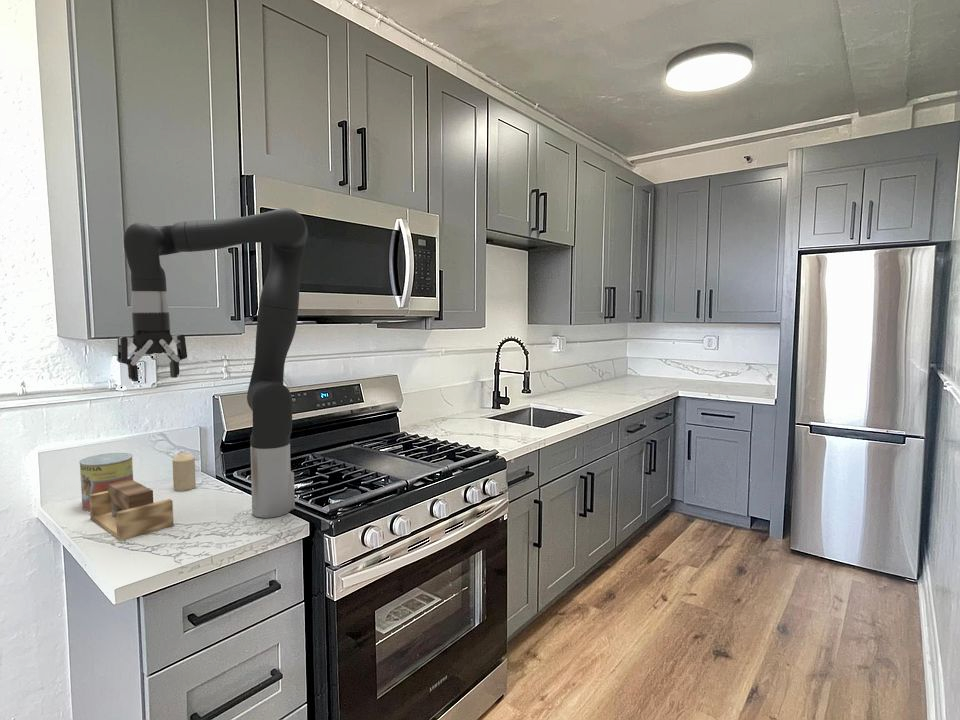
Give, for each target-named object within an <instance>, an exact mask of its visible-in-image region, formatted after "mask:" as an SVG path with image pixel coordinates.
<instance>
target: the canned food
mask: <svg viewBox="0 0 960 720" xmlns="http://www.w3.org/2000/svg"><path fill="white" fill-rule="evenodd" d="M78 463H79V468H80V470H79V471H80V489H81V509H82V510H83V511H85V512H89V513H90V501H89V495H90V494H95V493H100V492H104V491H108V484H111V483H116V482H120V481H125V480H130V479H132V480H134V469H133V467H134V466H133V454H131V453H127V452H112V453H111V452H110V453H102V454H96V455H92V456H87V457H85V458H82V459H81V460H79V462H78Z"/></svg>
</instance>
